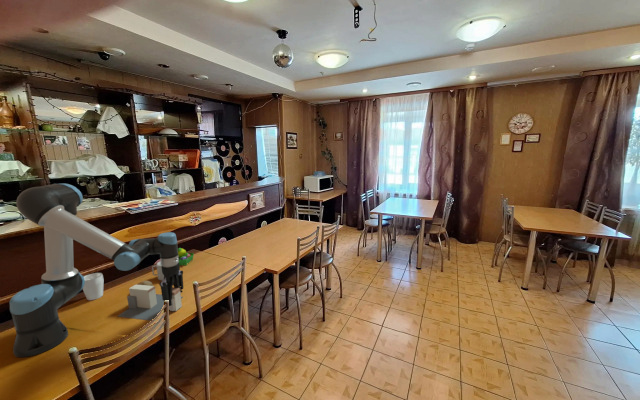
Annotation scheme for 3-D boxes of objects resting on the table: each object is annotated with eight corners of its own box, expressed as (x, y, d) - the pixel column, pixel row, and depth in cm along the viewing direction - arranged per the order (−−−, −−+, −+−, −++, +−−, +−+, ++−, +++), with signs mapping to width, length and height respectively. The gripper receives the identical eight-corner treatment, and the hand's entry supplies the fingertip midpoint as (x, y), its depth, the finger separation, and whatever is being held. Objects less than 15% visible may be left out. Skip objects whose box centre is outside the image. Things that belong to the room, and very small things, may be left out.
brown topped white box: (176, 311, 123) (174, 292, 121) (165, 309, 124) (163, 291, 122) (182, 306, 127) (180, 288, 125) (171, 305, 128) (169, 287, 126)
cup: (92, 302, 131) (89, 281, 129) (79, 300, 133) (75, 279, 131) (110, 293, 140) (107, 273, 137) (97, 291, 141) (93, 271, 139)
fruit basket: (186, 266, 173) (185, 251, 171) (174, 266, 174) (172, 250, 171) (195, 259, 185) (193, 245, 183) (183, 259, 185) (181, 244, 183)
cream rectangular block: (149, 310, 124) (146, 291, 122) (128, 307, 126) (125, 289, 124) (159, 302, 131) (156, 284, 129) (139, 300, 132) (137, 282, 130)
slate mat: (154, 322, 116) (154, 320, 116) (117, 317, 119) (117, 316, 119) (183, 297, 136) (183, 296, 136) (151, 294, 139) (150, 293, 139)
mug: (179, 271, 165) (177, 257, 164) (175, 279, 155) (174, 264, 154) (155, 274, 161) (153, 260, 159) (150, 282, 151) (148, 267, 149)
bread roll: (153, 299, 141) (159, 285, 142) (132, 298, 133) (138, 284, 135) (148, 292, 148) (154, 279, 149) (128, 291, 140) (134, 277, 141)
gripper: (163, 273, 112) (169, 319, 117) (188, 257, 129) (192, 298, 133) (149, 271, 113) (154, 317, 118) (175, 256, 130) (180, 297, 134)
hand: (175, 307), depth 126 cm, fingers closed on brown topped white box, 4 cm apart
